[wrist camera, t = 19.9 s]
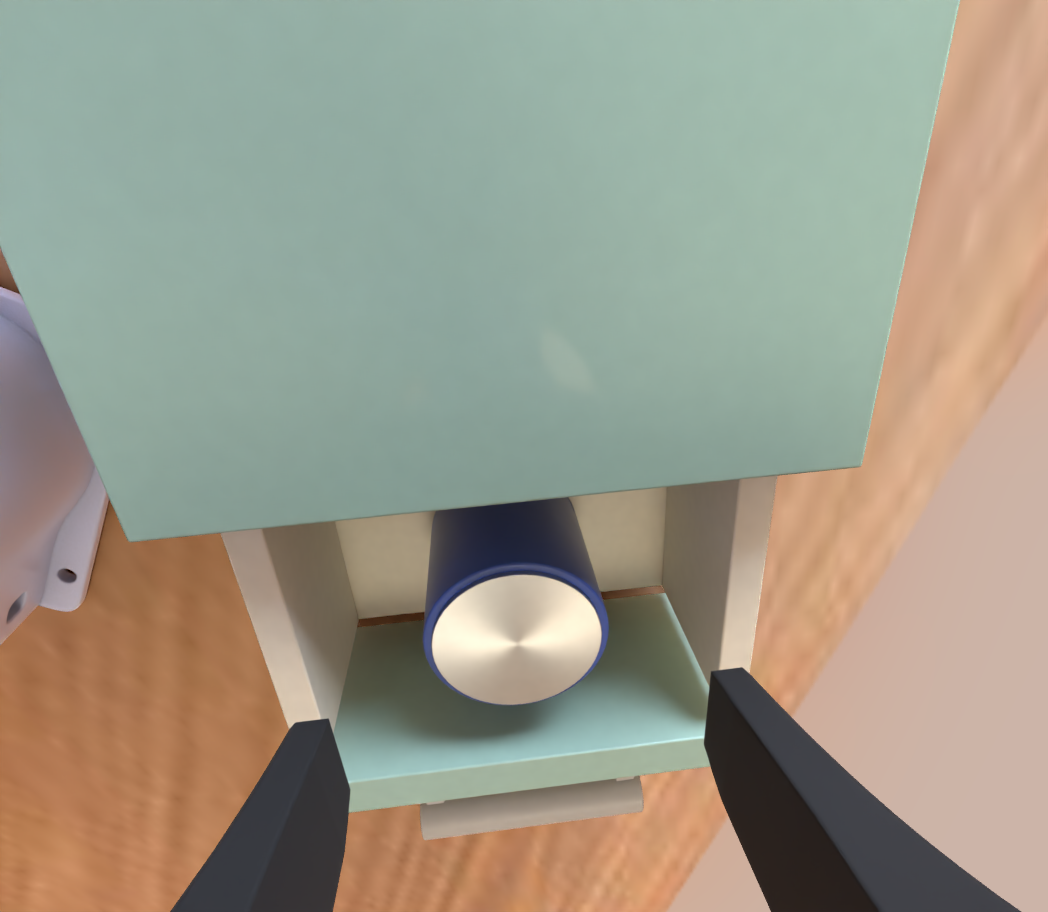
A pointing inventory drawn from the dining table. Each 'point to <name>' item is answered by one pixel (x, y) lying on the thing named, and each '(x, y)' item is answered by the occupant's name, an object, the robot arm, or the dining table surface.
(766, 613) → the dining table surface
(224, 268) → the cabinet
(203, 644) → the dining table surface
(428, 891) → the dining table surface
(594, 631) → the can
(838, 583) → the dining table surface
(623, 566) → the drawer
